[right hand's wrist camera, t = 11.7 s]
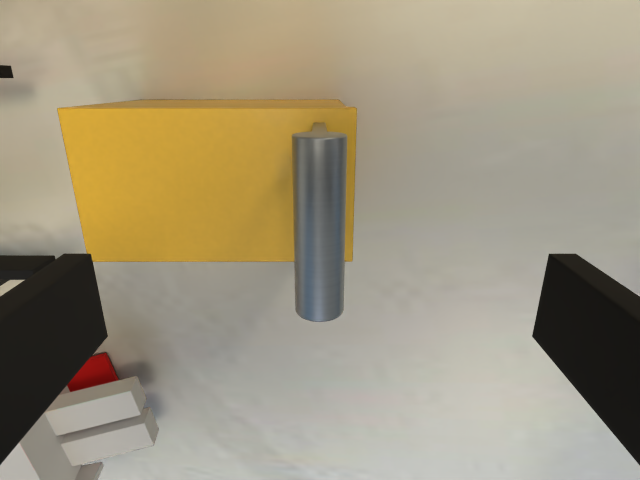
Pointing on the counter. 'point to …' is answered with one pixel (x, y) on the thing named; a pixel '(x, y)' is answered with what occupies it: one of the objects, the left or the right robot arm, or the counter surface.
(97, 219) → the yellow block with rod
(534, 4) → the counter surface
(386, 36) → the counter surface
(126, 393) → the toy
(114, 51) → the counter surface
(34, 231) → the counter surface
